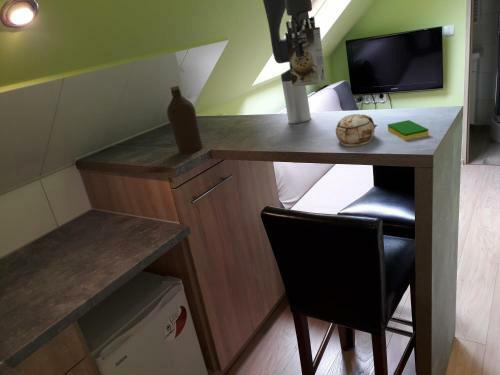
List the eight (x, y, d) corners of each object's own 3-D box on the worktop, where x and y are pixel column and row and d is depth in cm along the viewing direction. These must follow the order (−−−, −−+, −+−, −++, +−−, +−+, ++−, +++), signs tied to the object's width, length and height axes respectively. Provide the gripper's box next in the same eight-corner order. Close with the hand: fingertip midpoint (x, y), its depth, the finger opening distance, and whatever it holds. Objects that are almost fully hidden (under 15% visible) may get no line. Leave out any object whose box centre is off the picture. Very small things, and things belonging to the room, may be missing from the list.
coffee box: (292, 87, 123) (283, 33, 117) (299, 83, 128) (292, 31, 122) (319, 84, 118) (312, 27, 113) (326, 80, 123) (319, 25, 118)
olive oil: (205, 150, 150) (188, 84, 141) (178, 156, 149) (159, 90, 140) (203, 144, 160) (188, 82, 151) (177, 150, 159) (160, 88, 150)
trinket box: (352, 150, 116) (349, 124, 114) (325, 141, 130) (322, 118, 127) (388, 138, 120) (386, 112, 117) (358, 131, 133) (356, 108, 131)
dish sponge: (404, 142, 115) (404, 134, 114) (387, 131, 127) (387, 124, 127) (429, 137, 114) (428, 129, 113) (409, 127, 127) (409, 119, 126)
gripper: (297, -2, 122) (305, 53, 127) (273, 0, 111) (283, 60, 117) (319, -8, 117) (326, 49, 123) (297, -7, 107) (305, 56, 113)
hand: (305, 54), depth 120 cm, fingers closed on coffee box, 6 cm apart
